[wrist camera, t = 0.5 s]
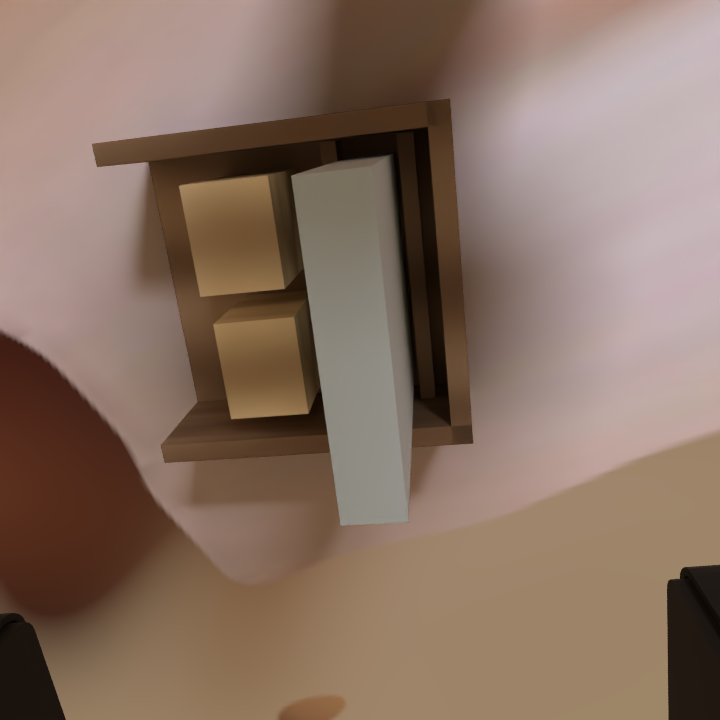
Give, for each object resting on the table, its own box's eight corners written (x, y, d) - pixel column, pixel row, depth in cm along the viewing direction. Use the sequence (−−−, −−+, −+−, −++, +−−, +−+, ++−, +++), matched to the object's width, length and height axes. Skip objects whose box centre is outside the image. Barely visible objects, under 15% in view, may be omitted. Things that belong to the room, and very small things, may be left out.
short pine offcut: (244, 295, 38) (213, 324, 32) (313, 289, 37) (294, 317, 32) (258, 378, 39) (231, 419, 34) (325, 373, 39) (308, 413, 33)
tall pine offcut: (224, 176, 36) (178, 185, 29) (296, 167, 35) (267, 175, 29) (240, 268, 37) (200, 296, 31) (309, 261, 37) (284, 289, 30)
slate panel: (348, 157, 35) (290, 175, 20) (394, 152, 34) (371, 166, 19) (373, 372, 39) (340, 525, 23) (414, 369, 38) (408, 522, 23)
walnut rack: (152, 142, 36) (91, 143, 30) (444, 105, 34) (449, 98, 28) (206, 410, 41) (164, 462, 35) (464, 391, 39) (473, 443, 33)
